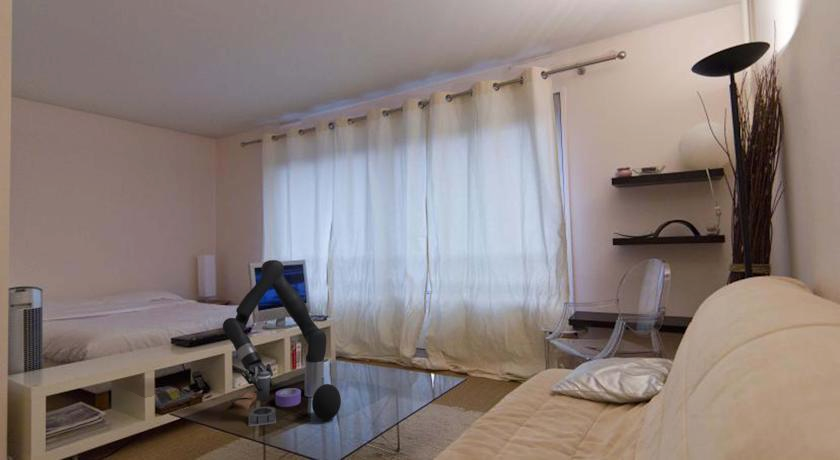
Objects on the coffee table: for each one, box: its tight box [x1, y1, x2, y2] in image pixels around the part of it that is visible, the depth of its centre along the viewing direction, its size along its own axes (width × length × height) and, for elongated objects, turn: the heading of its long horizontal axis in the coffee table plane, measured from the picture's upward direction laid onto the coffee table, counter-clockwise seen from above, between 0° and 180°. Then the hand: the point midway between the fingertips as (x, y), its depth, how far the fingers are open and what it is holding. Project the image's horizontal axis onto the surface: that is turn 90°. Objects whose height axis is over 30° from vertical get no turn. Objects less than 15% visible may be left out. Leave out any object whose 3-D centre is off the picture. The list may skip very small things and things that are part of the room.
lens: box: [256, 371, 271, 402], centre depth 177 cm, size 5×5×11 cm
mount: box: [248, 406, 277, 427], centre depth 177 cm, size 11×11×4 cm
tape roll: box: [274, 387, 302, 408], centre depth 198 cm, size 12×12×5 cm
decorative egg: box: [311, 383, 342, 421], centre depth 179 cm, size 12×12×15 cm
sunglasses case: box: [230, 389, 258, 410], centre depth 196 cm, size 18×7×7 cm, turn 2°
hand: (266, 388), depth 177 cm, fingers closed on lens, 5 cm apart
